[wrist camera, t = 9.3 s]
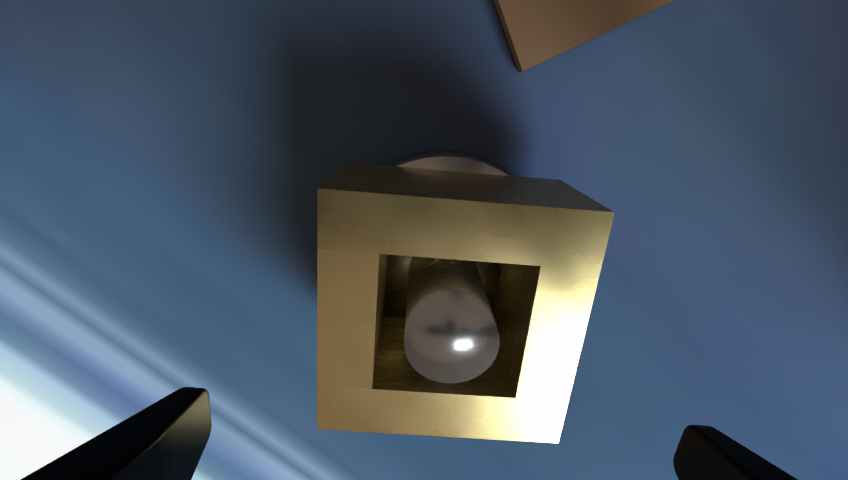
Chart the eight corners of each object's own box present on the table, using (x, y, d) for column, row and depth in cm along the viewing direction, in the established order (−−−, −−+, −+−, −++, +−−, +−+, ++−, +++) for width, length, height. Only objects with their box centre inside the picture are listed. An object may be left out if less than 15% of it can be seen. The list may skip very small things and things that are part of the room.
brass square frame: (560, 179, 14) (614, 212, 10) (525, 360, 16) (558, 443, 12) (346, 161, 13) (317, 188, 10) (341, 348, 16) (317, 428, 12)
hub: (501, 113, 14) (554, 125, 9) (570, 302, 17) (647, 407, 11) (298, 205, 15) (227, 270, 10) (391, 371, 18) (378, 500, 12)
